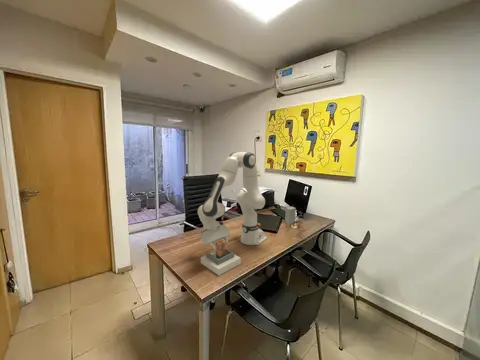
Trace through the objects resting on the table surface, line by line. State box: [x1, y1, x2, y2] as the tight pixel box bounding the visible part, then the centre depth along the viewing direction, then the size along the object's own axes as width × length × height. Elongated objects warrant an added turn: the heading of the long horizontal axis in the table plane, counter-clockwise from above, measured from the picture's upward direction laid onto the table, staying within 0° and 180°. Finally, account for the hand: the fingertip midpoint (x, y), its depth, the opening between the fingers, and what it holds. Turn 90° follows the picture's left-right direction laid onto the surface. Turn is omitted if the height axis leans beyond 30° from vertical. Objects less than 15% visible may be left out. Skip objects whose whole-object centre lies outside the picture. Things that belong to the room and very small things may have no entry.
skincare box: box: [284, 206, 297, 225], centre depth 203 cm, size 8×7×16 cm
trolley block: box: [215, 239, 227, 259], centre depth 128 cm, size 5×4×10 cm
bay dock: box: [200, 248, 242, 276], centre depth 129 cm, size 18×18×7 cm
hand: (221, 246), depth 128 cm, fingers open, 8 cm apart
